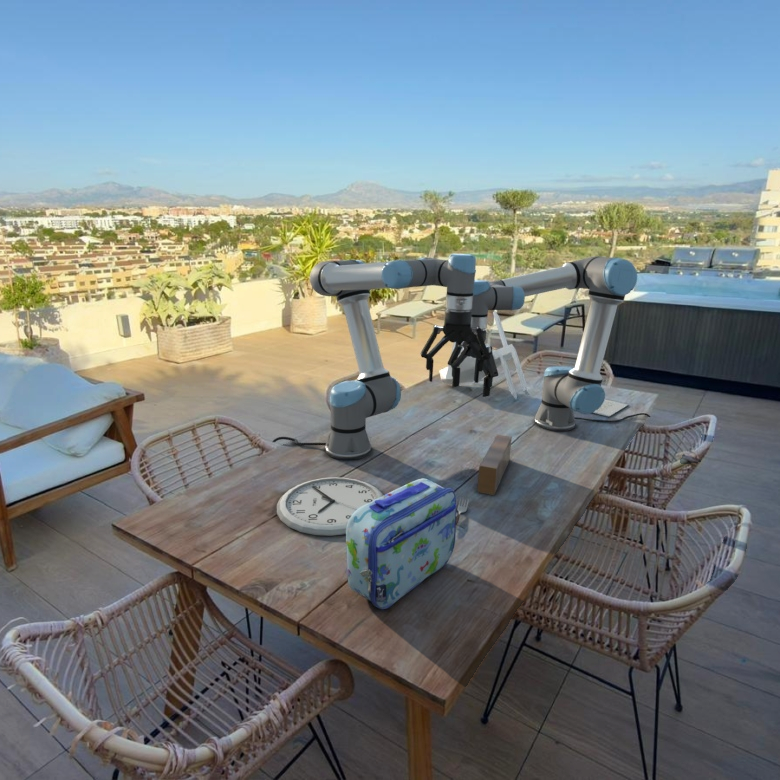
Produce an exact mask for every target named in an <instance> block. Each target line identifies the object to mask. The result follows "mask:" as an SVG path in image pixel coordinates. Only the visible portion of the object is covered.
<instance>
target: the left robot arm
mask: <svg viewBox="0 0 780 780" xmlns="http://www.w3.org/2000/svg"><path fill="white" fill-rule="evenodd" d="M476 260H477V258H476V256H474V255H473V254H468V253H451V254H450V255H449V256H448V259H440V258H433V257H420V258H418V259H394V260H390V261H378V262H367V263H365V262H364V261H362V260H359V259H343V260H325V261H321V262H318V263H316V265H314V266H313V268H311V271H310V273H309V283H310V286H311V288H312V290H313V291H314V292H315V293H317V294H319V295H321V296H324V297H335V299H336V302H337V304H338V305H340V306H342V309H343V312H344V317H345V320H346V324H347V328H348V333H349V337H350V340H351V344H352V348H353V352H354V356H355V360H356V365H357V367H358V373H359V375H358V376H357V378H356V380H345V381H341V382H338V383H336V384H335V385H334V386H332V388H331V389H330V394H329V396H330V397H329V404H330V405H329V406H330V430H329V431H330V432H329V435H328V437H327V440H326V442H299V441H298V439H296V438H294V437H289V436H278V437H276V438H274V439H272V440H271V442H272V443H276V442H278V441H280V440H286V441H290V442H291V441H292V442H295V444H296V445H297V446H325V453H326V455H327V456H329V457H331V458H333V459H337V460H343V461H353V460H359V459H362V458H365V457H367V456H369V454H371V451H372V444H371V441H372V438H370V439H369V435H368V433H367V429H366V425H367V424H366V423H367V421H366V420H367V418H370V417H374V416H378V415H379V414H383V413H384V414H385V413H389V411H391V410H394V409H395V408H397V406H398V405H399V403H400V402H401V397H402V389H401V385H400V383H399V382H398V380H397V379H396V378H395V377H393V376H391V374H390V373H391V372H390V371H389V370H388V369H387V368H385V367H384V363H383V360H382V355H381V351H380V347H379V343H378V339H377V335H376V330H375V326H374V322H373V319H372V315H371V314H372V313H371V311H370V307H369V303H368V300H369V298H370V297H371V290H381V289H382V290H383V289H384V290H385V289H392V290H402V289H409V288H418V287H430V286H436V287H443V288H446V298H445V308H446V310H445V312H444V324H443V326H438V325H436V324H435V325H433V328H432V332H431V334H430V335H429V337H428V339H427V341H426V342H425V344H424V346H423V348H422V350H421V351H420V357H421V358H424V359H425V360H426V361H425V368H426V371H429V372H428V373H429V374H428V381H429V382H431V383H432V382H433V377H434V376H433V375H434V356H435V355H437V353H439V351H440V350H441V349H442V348H443V347H444V346H445V345H447V344H448V343H449V342H450V343H454V342H459V343H462V342H464V341H466V343H467V344H468V345H469V346H470V348H471V349H472V350H473V352H474V353H475V354H476V356H477V357H478V358H479V360H478V359H476V362H475V373H474V381H475V383H474V384H478V383H479V382H478V377H479V371H482V370H483V362H484V360H486V359H490V355H489V353H488V350H487V348H486V345H485V344H486V343H485V342H484V340H483V338H482V330H481V328H480V327H476V328H471V316H472V312H471V311H470V310H471V309H472V303H473V288H474V280H476V273H477V270H476V264H477V263H476V262H477V261H476ZM441 332H442V333H443V334H444V336H442V337H441V339H440V340H439V341H438V342H437V343H436V344H435V345H434V347H433V348H431V347H432V346H433V344H434V342H435V340H436V339H437V337H438V335H439V334H441ZM472 332H474V334H475V335H476V336H477V339H478V341H479V343H480V346H481V348H482V351H483V353H484V355H481V354H480V353H479V351H478V350H477V349H476V347H475V346H474V345H473V343H472V342H471V341H470V339H469V338H468V336H469V335H470V334H471V333H472ZM430 349H431V350H430Z"/></svg>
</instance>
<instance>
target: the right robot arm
mask: <svg viewBox="0 0 780 780" xmlns="http://www.w3.org/2000/svg"><path fill="white" fill-rule="evenodd" d="M637 282H638V271H637V268H636V267H635V265H634V263H632V262H631V261H630V260H628V259H625V258H621V257H609V256H598V255H597V256H589V257H585V258H581V259H578V260H573V261H569V262H565V263H564V264H563V265H562V266H559V267H554V268H550V269H545V270H541V271H536V272H531V273H527V274H526V273H525V274H522V275H517V276H512V277H508V278H503V279H499V280H493V281H489V280H485V279H484V280H483V279H475V280H474V288H473V303H472V309H471V310H470V311H471V312H472V316H471V328H476V327H480V328H481V330H482V338H483V340H484V343H485V342H486V341H487V330H486V329H487V328H488V313H489V311H515V310H520V309H522V308H523V307H524V304H525V300H526V297H529V296H534V295H538V294H539V295H540V294H544V293H549V292H553V291H557V290H562V289H567V290H568V291H569V290H576V289H583V290H585V289H586V290H588V294H587V296H588V298H589V299H590V305H589V309H588V312H587V317H586V321H585V324H584V329H583V333H582V337H581V341H580V343H579V348H578V352H577V355H576V356H577V357H576V361H575V364H574V366H573V367H572V366H558V365H557V366H549V367H547V368H546V369H545V370H544V373H543V381H542V382H543V384H542V394H541V402H540V405H539V407H538V410H537V411H536V413H535V416H534V424H535V425H536V426H537V427H539V428H542V429H544V430H549V431H556V432H567V431H572V430H574V429H575V428H576V420H580V421H587V422H588V421H589V422H600V423H618V422H622V421H624V420H626V419H629V418H634V417H638V416H641V415H642V416H646V417H648V418H651V415H650V414H648V413H645V412H639V413H635V414H631V415H627V416H624V417H623V418H619V419H613V420H611V419H610V420H609V419H608V420H607V419H593V418H584V417H576V416H575V413H574V412H576V413H579V414H581V415H590V414H594V413H593V412H594V411H595V410H598V409H599V408H600V407H601V405H602V404H603V402H604V400H605V399H606V392H605V390H604V388H603V386H602V383H603V379H604V378H603V376H602V374H601V369H602V365H603V361H604V358H605V354H606V350H607V347H608V343H609V339H610V336H611V331H612V327H613V324H614V321H615V318H616V317H615V316H616V312H617V309H618V306H619V305H620V304H622V303H624V301H625V298H626V296H627V295H628V294H630V293H631V292H632V291H633V290H634V289H635V287H636V286H637ZM468 338H469V339H470V341H471V342H472V343H473V345H474V346H475V347H476V349H477V350H478V351H479V353H480V354H481V355H484V353H483V351H482V348H481V346H480V343H479V341H478V339H477V336H476V335H475V334H474V332H472V333H471V334H470V335H469V336H468ZM462 347H463V348H464V350H463V351H462V352H461V349H462ZM486 348H487V350H488V353H489V355H490V359H486V360H484V362H483V371H484V373H485V375H486V376H485V377H483V386H482V397H483V398H487V397H490V396H491V388H492V387H493V381H494V380H493V379H494V378H496V377H499V371H498V367H496V364H495V361H494V357H493V354H492V350H493V346H491V345H490V347H486ZM451 352H452V351H451ZM460 352H461V354H460ZM459 354H460V356H459ZM458 356H459V357H458ZM467 356H469V357H470V356H471V357H473V358H476V359H478V360H479V358H478V357H477V356H476V354H475V353H474V352H473V350H472V349H471V348H470V346H469V345H468V344H467V343H466V341H464V342H462V343H459V342H456V345H455V348H454V350H453V352H452V354H451V353H450V357H449V359H448V361H447V365H448V366H449V365H450V366H451V367H452V377H453V382H452V384H451V387H452V388H456V387H460V383H459V381H460V368H459V365H460V364H461V363H462V362H463V361H464V359H465V358H466V357H467ZM457 367H458V368H457Z"/></svg>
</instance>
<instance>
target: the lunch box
mask: <svg viewBox="0 0 780 780" xmlns="http://www.w3.org/2000/svg"><path fill="white" fill-rule="evenodd" d="M456 498H457V496H456V493H455V491H454V489H452V488H450V487H443V486H441V485H439V484H438V483H436V482H433V481H432V480H430V479H427V478H423V477H422V478H418V479H416V480H413V481H411V482H409V483H406V484H405V485H402V486H400V487H398V488H396V489H394V490H392V491H390V492H388V493H386V494H384V496H382V497H380V498H378V499H376V500H374V501H372V502H370V503H368V504H366V505H364V506H362V507H360V508H358V509H357V510H356V511H355V512H354V513H353V514H352V515H351V517H350V519H349V521H348V524H347V528H346V534H345V547H346V549H345V550H346V572H347V573H346V575H347V584H348V587H349V589H350V590H351V591H353V592H355V593H357V594H358V595H361V596H363V597H364V598H365V599H367V600H368V601H369V602H371V604H372V605H373V606H374V607H376V608H377V609H380V610H386V609H389V608H391V607H393V605H395V603H397V602H398V601H399V600H400V599H402V598H403V597H404V596H405V595H408V593H410V592H411V591H412V590H413V589H415V588H416V587H417V586H419V585H420V584H421V583H423V581H424V580H425V579H427V578H428V577H430V576H431V575H433V574H435V573H437V572H438V571H439V570H441V569H442V568H443V567H444V566H446V564H447V563H448V562H449V560H450V559H451V556H452V555H453V552H454V548H455V544H456V531H457V530H456V529H457V525H456V516H457V499H456Z"/></svg>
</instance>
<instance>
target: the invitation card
mask: <svg viewBox="0 0 780 780" xmlns="http://www.w3.org/2000/svg"><path fill="white" fill-rule="evenodd" d="M628 406H629V404H627V403H623V402H618V401H614V400H609V399H606V398H605V400H604V402H603V404H602V405H601V407H600V408H599V409H598V410H595V411H594V412H593V413H592V414H596V415H600V416H604V417H608V418H609V417H611V416H613V415H614V414H616V413H617V412H619V411H621V410H623V409H624V408H626V407H628Z"/></svg>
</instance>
